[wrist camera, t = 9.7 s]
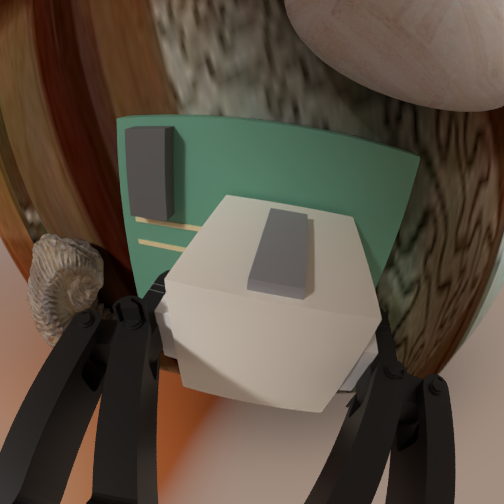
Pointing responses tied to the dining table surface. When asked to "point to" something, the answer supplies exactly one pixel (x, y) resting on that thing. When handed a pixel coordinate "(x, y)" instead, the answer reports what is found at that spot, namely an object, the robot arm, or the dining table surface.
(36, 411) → the robot arm
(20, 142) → the dining table surface
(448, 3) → the decorative stone
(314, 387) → the plug
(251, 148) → the board
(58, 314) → the seashell
